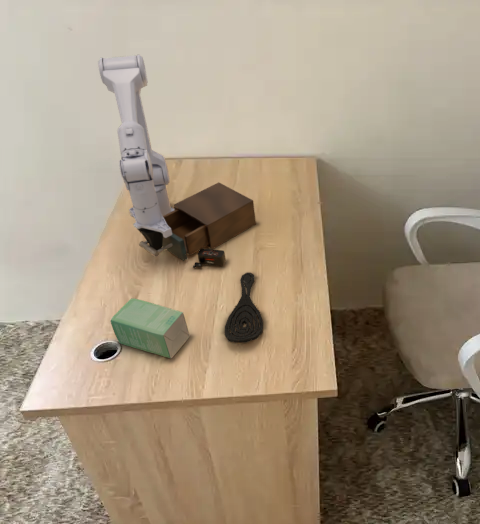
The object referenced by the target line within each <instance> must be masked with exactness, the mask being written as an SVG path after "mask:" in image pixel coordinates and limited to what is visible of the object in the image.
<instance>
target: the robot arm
mask: <svg viewBox="0 0 480 524" xmlns="http://www.w3.org/2000/svg"><path fill="white" fill-rule="evenodd" d="M97 65H98V67H97V68H98V71H99V75H100V76H99V77H100V79H101V82H102V84H103V85H104V86H105V87H106V89H107V90H108V91H109V92H111V93H113V94H114V97H115V102H116V105H117V110H118V113H119V117H120V121H121V124H120V126H119V127H118V128H117V130H116V131H117V137H118V138H117V139H118V145H119V151H120V152H119V153H120V159H119V161H118V162H119V165H118V166H119V171H120V175H121V178H122V180H123V183H124V185H125V188H126V190H127V191H128V193H129V196H130V201H131V204H132V207H130V208H129V209H128V211H129V215H130V217H132V218H133V219H134V221H135V222H134V223H133V224H132V225H133V228H135V229H136V230H137V231H138V232H139V233H140V234H141V235H142V236H143V237H144V238H145V241H147V242H148V245H149V246H151V247H152V248H154V249H155V250H159V249H161V248H163V247H162V242H163V237H164V238H167V237H169V236H171V235H172V230H171V228H170V227H169V226H168V225H167V223H166V221H165V219H164V218H163V216H164V215H166V214H168V213H170V212H172V211H174V207H172V206H171V203H170V198H169V193H168V189H167V186H169V184H170V173H169V169H168V164H167V162H166V158H165V157H164V155H163V154H161V153H159V152H157V151H155V150H154V149H153V147H152V144H151V139H150V134H149V129H148V126H147V120H146V116H145V112H144V106H143V101H142V97H141V91H142V89H143V88H145V87H147V86H148V76H147V70H146V65H145V60H144V57H143V56H142V55H141V54H136V55H135V54H134V55H123V56H111V57H100V58H99V59H98V61H97Z"/></svg>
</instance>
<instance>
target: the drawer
mask: <svg viewBox="0 0 480 524" xmlns="http://www.w3.org/2000/svg"><path fill="white" fill-rule="evenodd" d="M163 218H164V219H165V221H166V223H167V225H168V226H169V227H170V228H171V230H172V235H171V236H169V237H167V238H164V237H163V242H162V248H161V249H159V250H155V249H154V248H152V247H151V246H150V245H149V243H148V242H147V240H145V241H144V240H141V241H139V243H138V245H139V247H140V248H142V249H144V250H145V251H146V252H148V253H149V254H150V255H152V256H153V257H156V258H157V257H159V256H160V253H162V252H164V251H168V252H169V253H171V254H172V255H174V256H176V257H177V258H179V259H180V260H182V262H185V261H186V260H188V256H192V255H194V254H195V253H198V252H199V250H200V249H202V248H203V249H205V247H207V245H209V244H210V242H209V237H208V232H207V226H205V225H204V224H202V223H200V222H199V221H197V220H195V219H194V218H192V217H190V216H189V215H187V214H185V213H184V212H182V211H180V210H179V209H176V210H174V211H172V212H170V213H168V214H166V215H164V216H163Z"/></svg>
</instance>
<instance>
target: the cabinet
mask: <svg viewBox="0 0 480 524" xmlns="http://www.w3.org/2000/svg"><path fill="white" fill-rule="evenodd" d="M173 209H174V210H176V209H179V210H180V211H182V212H184V213H185V214H187V215H189V216H190V217H192V218H194V219H195V220H197V221H199V222H200V223H202V224H204V225H205V226H207V232H208V237H209V242H210V244H209V245H207V246H206V247H207V248H208V249H213V250H215V248H218V247H219V246H221V245H222V244H225V243H226V242H227V241H229V240H231V239H233V238H235V237H236V236H238V235H240V234H241V233H243V232H244V231H245V232H246V230H248V229H251V228H252V227H253V226H255V225H257V221H256V213H255V204H254V200H253V198H252V199H251V198H250V197H248V196H246V195H244V194H242V193H240V192H238V191H236V190H235V189H233V188H231V187H229V186H227V185H225V184H223V183H221V182H219V181H218V182H217V183H214V184H212V185H210V186H208V187H207V188H204V189H203V190H201V191H198V192H196V193H194V194H191V195H190V196H188V197H186V198H184V199H182V200H180V201H178V202H176V203H174V204H173Z"/></svg>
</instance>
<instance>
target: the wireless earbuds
mask: <svg viewBox="0 0 480 524" xmlns="http://www.w3.org/2000/svg"><path fill="white" fill-rule="evenodd" d="M197 259H198V262H197V261H195V262H194V263H193V265H192V269H196V268H197V269H201V268H203V266H214V267H223V266H224V265H225V263H226V261H227V259H226V254H225V250H222V249H210V248H202V249H200V250H199V251H197Z"/></svg>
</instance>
